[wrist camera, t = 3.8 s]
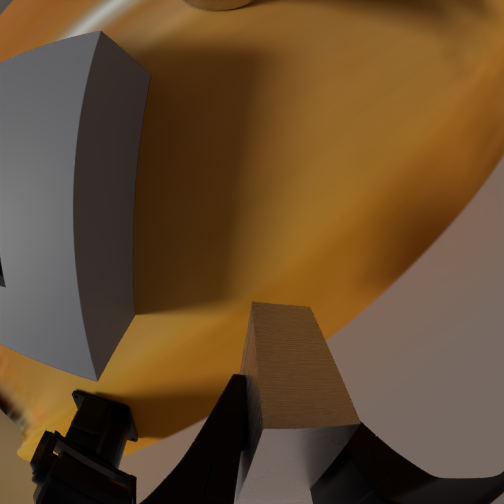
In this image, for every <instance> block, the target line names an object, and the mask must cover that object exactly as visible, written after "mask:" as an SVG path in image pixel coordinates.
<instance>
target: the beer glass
mask: <svg viewBox="0 0 504 504" xmlns="http://www.w3.org/2000/svg"><path fill="white" fill-rule="evenodd" d="M183 1H184V2H186V3H187V4H189V5H191V6H193V7H196V8H199V9H204V10H212V11H222V10H231V9H236V8H240V7H243V6H246V5H248V4H250V3H252V2H254V1H255V0H183Z"/></svg>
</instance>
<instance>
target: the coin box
mask: <svg viewBox="0 0 504 504" xmlns="http://www.w3.org/2000/svg"><path fill="white" fill-rule="evenodd" d="M150 78H151V74H150V73H148V72H147V71H146V70H145V69H144V68H143V67H142V66H141V65H140V64H139V63H138V62H136V61H135V60H134V59H133V58H132V57H131V56H130V55H129V54H127V53H126V52H125V51H124V50H123V49H122V48H121V47H119V46H118V45H117V44H116V43H115V42H114V41H113V40H111V39H110V38H109V37H108V36H107V35H106V34H104V33H103V32H102V31H97V32H92V33H87V34H83V35H79V36H75V37H71V38H67V39H63V40H60V41H57V42H53V43H50V44H47V45H44V46H41V47H38V48H35V49H32V50H30V51H27V52H24V53H22V54H19V55H17V56H15V57H12V58H10V59H8V60H5V61H3V62H1V63H0V344H1V345H3V346H5V347H7V348H10V349H12V350H14V351H16V352H18V353H20V354H22V355H25V356H27V357H29V358H32V359H34V360H36V361H39V362H41V363H44V364H46V365H49V366H52V367H54V368H57V369H60V370H62V371H65V372H68V373H71V374H74V375H77V376H80V377H83V378H86V379H90V380H93V381H96V382H98V380H99V378H100V376H101V374H102V373H103V371H104V369H105V367H106V365H107V363H108V362H109V360H110V358H111V356H112V354H113V353H114V351H115V349H116V347H117V346H118V344H119V342H120V340H121V339H122V337H123V335H124V333H125V332H126V330H127V328H128V327H129V325H130V323H131V322H132V320H133V318H134V317H135V305H134V284H133V219H134V198H135V184H136V172H137V161H138V152H139V144H140V136H141V129H142V122H143V116H144V110H145V104H146V98H147V93H148V88H149V83H150Z"/></svg>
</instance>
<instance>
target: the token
mask: <svg viewBox="0 0 504 504" xmlns="http://www.w3.org/2000/svg"><path fill="white" fill-rule="evenodd" d="M240 374H242V375H245V382H246V393H247V414H246V421H245V429H244V436H243V443H242V450H241V457H240V464H239V471H238V478H237V485H236V504H280V503H294V502H298V501H299V500H300V499H301V498H302V497H303V495H305V494H306V493H307V491H308V490H309V489H310V488H311V487H312V486H313V485H314V484H315V483H316V481H317V480H318V479H319V478H320V477H321V476H322V474H323V473H324V472H325V471H326V470H327V468H328V467H329V466H330V465H331V464H332V462H333V461H334V460H335V458H336V457H337V456H338V455H339V453H340V452H341V451H342V449H343V448H344V447H345V445H346V444H347V443H348V441H349V440H350V438H351V437H352V436H353V434H354V433H355V431H356V430H357V428H358V427H359V425H360V424H361V423H360V420H359V418H358V415H357V413H356V410H355V408H354V406H353V403H352V401H351V399H350V396H349V394H348V391H347V389H346V387H345V384H344V382H343V380H342V377H341V375H340V373H339V370H338V368H337V366H336V364H335V361H334V359H333V357H332V355H331V352H330V350H329V348H328V345H327V343H326V341H325V339H324V336H323V334H322V332H321V330H320V327H319V325H318V323H317V321H316V319H315V316H314V314H313V312H312V310H311V308H310V307H306V306H294V305H282V304H272V303H261V302H252V303H251V309H250V315H249V321H248V327H247V333H246V339H245V345H244V351H243V357H242V363H241V369H240Z"/></svg>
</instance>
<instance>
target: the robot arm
mask: <svg viewBox="0 0 504 504" xmlns="http://www.w3.org/2000/svg"><path fill="white" fill-rule="evenodd" d="M72 396H73V399H74V401H75V403H76V406H77V408H78V410H77V412H76V414H75V416H74V418H73V420H72V422H71V426H70V428H69V430H68V432H67V434H66V436H65V437H63V436H62V435H61V434H60V433H59V432H58V431H56V430H55V432H54V433H52V432H49V431H47V430H46V431H45V432H44V434H43V436H42V438H41V440H40V442H39V444H38V446H37V448H36V450H35V453H34V455H33V457H32V459H31V462H30V465H31V467H32V470H33V472H32V474H33V477H32V481H33V482H34V483H35V484H37V487H36V489H35V492H34V495H33V499H34V504H136V480H137V479H136V477H135V476H133V475H129V474H127V473H125V472H123V471H121V470H119V469H118V468H119V465H120V461H121V458H122V455H123V451H124V448H125V445H126V441H127V440H130V441H134V442H137V441H138V436H137V432H136V429H135V425H134V422H133V418H132V414H131V411H130V408H129V407H128V406H126V405H122V404H118V403H114V402H111V401H107V400H104V399H100V398H97V397H94V396H91V395H87V394H84V393H81V392H78V391H73V393H72ZM246 414H247V393H246V382H245V375H242V374H233V375H232V377H231V379H230V381H229V382H228V384H227V386H226V388H225V389H224V391H223V393H222V395H221V396H220V398H219V400H218V402H217V403H216V405H215V407H214V408H213V410H212V412H211V414H210V415H209V417H208V419H207V420H206V422H205V424H204V425H203V427H202V429H201V430H200V432H199V434H198V435H197V437H196V439H195V441H194V442H193V443H192V445H191V446H190V448H189V449H188V451H187V452H186V454H185V455H184V457H183V458H182V460H181V461H180V462H179V464H178V465H177V466H176V467H175V468H174V469H173V471H172V472H171V473H170V474H169V475H168V476H167V477H166V478H165V479H164V480H163V481H162V482H161V484H160V485H159V486H158V487H157V488H156V489H155V490H154V491H153V492H152V493H151V494H150V495H149V496H148V497H147V498H146V499H144V500H143V502H141V503H140V504H234V498H235V492H236V485H237V478H238V471H239V464H240V457H241V450H242V443H243V436H244V429H245V421H246ZM360 423H361V424H360V425H359V427H358V428H357V430H356V431H355V433H354V434H353V436H352V437H351V438H350V440H349V441H348V443H347V444H346V445H345V447H344V448H343V449H342V451H341V452H340V453H339V455H338V456H337V457H336V458H335V460H334V461H333V462H332V464H331V465H330V466H329V467H328V468H327V470H326V471H325V472H324V473H323V474H322V476H321V477H320V478H319V479H318V480H317V481H316V483H315V484H314V485H313V486H312V487H311V488H310V491H311V495H312V501H313V504H504V472H502V473H501V474H499V475H497V476H494V477H488V478H464V479H463V478H459V479H458V478H457V479H456V478H452V479H451V478H439V477H435V476H433V475H430V474H428V473H427V472H425V471H424V470H422V469H420V468H419V467H417V466H416V465H414V464H413V463H411V462H410V461H408V460H407V459H405V458H404V457H402V456H401V455H400V454H398V453H397V452H396V451H394V450H393V449H391V448H390V447H389V446H388V445H387V444H386V443H384V442H383V441H382V440H381V439H380V438H379V437H378V436H376V435H375V434H374V433H373V432H372V431H371V430H370V429H369V428H368V427H366V426H365V425H364V424H363V423H362V422H361V421H360ZM53 451H55V452H56V453H57V454H58V456H57V455H56V454H54V453H53Z"/></svg>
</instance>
